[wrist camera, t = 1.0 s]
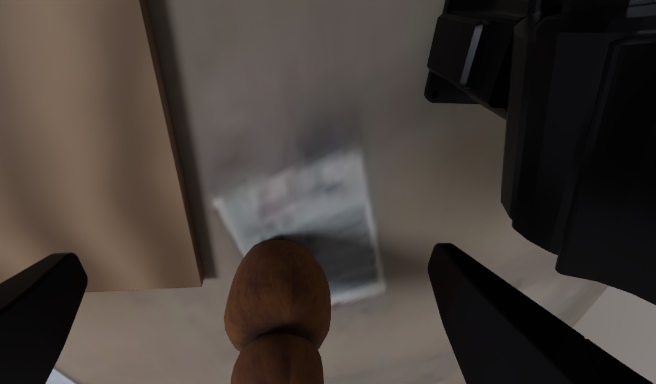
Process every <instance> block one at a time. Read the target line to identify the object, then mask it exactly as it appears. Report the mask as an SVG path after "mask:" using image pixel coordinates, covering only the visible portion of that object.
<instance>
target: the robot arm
mask: <svg viewBox="0 0 656 384" xmlns="http://www.w3.org/2000/svg"><path fill="white" fill-rule="evenodd" d="M427 67H428V68H429V74H428V79H427V83H426V87H425V92H424V96H425V98H426V99H427V100H428V101H429V102H432V103H460V104H481V105H482V106H484V107H486V108H487V109H489V110H491V111H492V112H494V113H495V114H497V115H499V116H500V117H502V118H504V119H505V120H507V121H506V133H505V146H504V158H503V171H502V184H501V203H502V204H503V206H504V208H505V210H506V212H507V214H508V215H509V217H510V218H511V219H512V227H513V229H515V230H516V231H517V232H518V233H520V234H521V235H522V236H523V237H524V238H526V239H527V240H529V241H530V242H532V243H534V244H536V245H538V246H540V247H541V248H543V249H545V250H547V251H549V252H551V253H553V254H556V255H558V258H557V262H556V266H555V269H556V271H557V272H558V273H560V274H563V275H567V276H572V277H577V278H582V279H588V280H593V281H597V282H600V283H603V284H606V285H609V286H612V287H615V288H617V289H621V290H623V291H626V292H629V293H632V294H634V295H636V296H638V297H640V298H642V299H644V300H646V301H648V302H650V303H652V304H654V305H656V0H445V5H444V9H443V13H442V14H441V15H440V16H439V17H438V19H437V24H436V28H435V33H434V37H433V42H432V46H431V50H430V55H429V59H428V64H427ZM434 90H436V94H435V95H434V96H432V97H431V93H432V91H434ZM428 274H429V277H430V281H431V284H432V288H433V292H434V295H435V299H436V302H437V306H438V309H439V313H440V316H441V320H442V323H443V326H444V328H445V331H446V334H447V336H448V339H449V341H450V344H451V346H452V349H453V351H454V354H455V356H456V359H457V361H458V364H459V366H460V369H461V371H462V374H463V376H464V379H465V381H466V384H653V383H652V382H650V381H649V380H647V379H646V378H644V377H643V376H641V375H639V374H638V373H636V372H635V371H633V370H632V369H630V368H629V367H627V366H626V365H625V364H623V363H621V362H620V361H619V360H617V359H616V358H614V357H613V356H611V355H610V354H608V353H607V352H606V351H604V350H603V349H601V348H600V347H598V346H597V345H596V344H594V343H593V342H591V341H590V340H589V339H585V338H584V336H583V335H581V334H580V333H578V332H577V331H576V330H574V329H573V328H571V327H570V326H568V325H567V324H566V323H564V322H563V321H561V320H560V319H559V318H557V317H556V316H554V315H553V314H551V313H550V312H549V311H547V310H546V309H544V308H543V307H541V306H540V305H539V304H537V303H536V302H534V301H533V300H532V299H530V298H529V297H527V296H526V295H524V294H523V293H522V292H520V291H519V290H517V289H516V288H514V287H513V286H512V285H510V284H509V283H507V282H506V281H505V280H503V279H502V278H500V277H499V276H497V275H496V274H495V273H493V272H492V271H490V270H489V269H487V268H486V267H485V266H483V265H482V264H480V263H479V262H477V261H476V260H475V259H473V258H472V257H470V256H469V255H468V254H466V253H465V252H463V251H462V250H460V249H459V248H458V247H456V246H455V245H453V244H451V243H438V244H436V245H435V246H434V248H433V251H432V254H431V257H430V260H429V263H428ZM87 284H88V277H87V274H86V272H85V270H84V268H83V266H82V264H81V262H80V260H79V258H78V256H77V255H76V254H75V253H72V252H63V253H53V254H50V255H49V256H47V257H45V258H43V259H42V260H40V261H38V262H36V263H35V264H33V265H31V266H29V267H28V268H26V269H24V270H23V271H21V272H19V273H17V274H16V275H14V276H12V277H10V278H9V279H7V280H5V281H3V282H2V283H0V384H45V383H46V381H47V379H48V377H49V375H50V373H51V372H52V370H53V368H54V366H55V364H56V362H57V360H58V358H59V355H60V353H61V351H62V349H63V347H64V345H65V342H66V340H67V338H68V335H69V332H70V330H71V327H72V324H73V322H74V319H75V317H76V314H77V311H78V309H79V306H80V303H81V301H82V298H83V295H84V293H85V290H86V288H87Z"/></svg>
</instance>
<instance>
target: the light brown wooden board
mask: <svg viewBox="0 0 656 384" xmlns="http://www.w3.org/2000/svg"><path fill="white" fill-rule="evenodd" d="M63 252H72V253H75V254H76V255H77V256H78V258H79V260H80V262H81V264H82V266H83V268H84V270H85V272H86V274H87V277H88V284H87V288H86V290H85V292H103V291H124V290H144V289H165V288H186V287H202V284H203V280H204V274H203V269H202V264H201V260H200V255H199V250H198V245H197V240H196V236H195V231H194V226H193V221H192V216H191V212H190V207H189V202H188V197H187V193H186V188H185V183H184V178H183V173H182V169H181V164H180V159H179V154H178V150H177V145H176V140H175V135H174V130H173V126H172V121H171V116H170V111H169V107H168V102H167V97H166V92H165V87H164V83H163V78H162V73H161V68H160V64H159V59H158V54H157V49H156V44H155V40H154V35H153V30H152V25H151V20H150V16H149V11H148V6H147V1H146V0H0V283H2V282H3V281H5V280H7V279H9V278H10V277H12V276H14V275H16V274H17V273H19V272H21V271H23V270H24V269H26V268H28V267H29V266H31V265H33V264H35V263H36V262H38V261H40V260H42V259H43V258H45V257H47V256H49V255H50V254H53V253H63Z"/></svg>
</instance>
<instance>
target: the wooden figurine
mask: <svg viewBox="0 0 656 384" xmlns="http://www.w3.org/2000/svg"><path fill="white" fill-rule="evenodd" d="M330 320H331V299H330V290H329V285H328V281H327V278H326V276H325V273H324V271H323V269H322V268H321V266H320V265H319V263H318V262H317V260H316V259H315V257H314V256H313V254H312V253H311V252H310V251H309V250H308V249H307V248H306V247H304V246H302V245H300V244H298V243H295V242H292V241H288V240H277V239H276V240H267V241H263V242H261V243H258V244H256V245H254V246H253V247H252V249H251V250H250V251H249V252H248V253H247V254H246V256H245V257H244V258H243V259H242V261H241V263H240V265H239V267H238V269H237V271H236V274H235V276H234V279H233V282H232V285H231V289H230V292H229V296H228V300H227V304H226V309H225V315H224V323H225V331H226V333H227V335H228V337H229V339H230V341H231V342H232V344H233V345H234V347H235V348H236V349H237V350H239V351H240V354H239V356H238V358H237V360H236V363H235V365H234V368H233V372H232V377H231V384H324V379H323V366H322V361H321V356H320V354H319V352H318V350H317V349H319V348H320V346H321V345H322V343H323V341H324V339H325V337H326V335H327V333H328V331H329V327H330Z"/></svg>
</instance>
